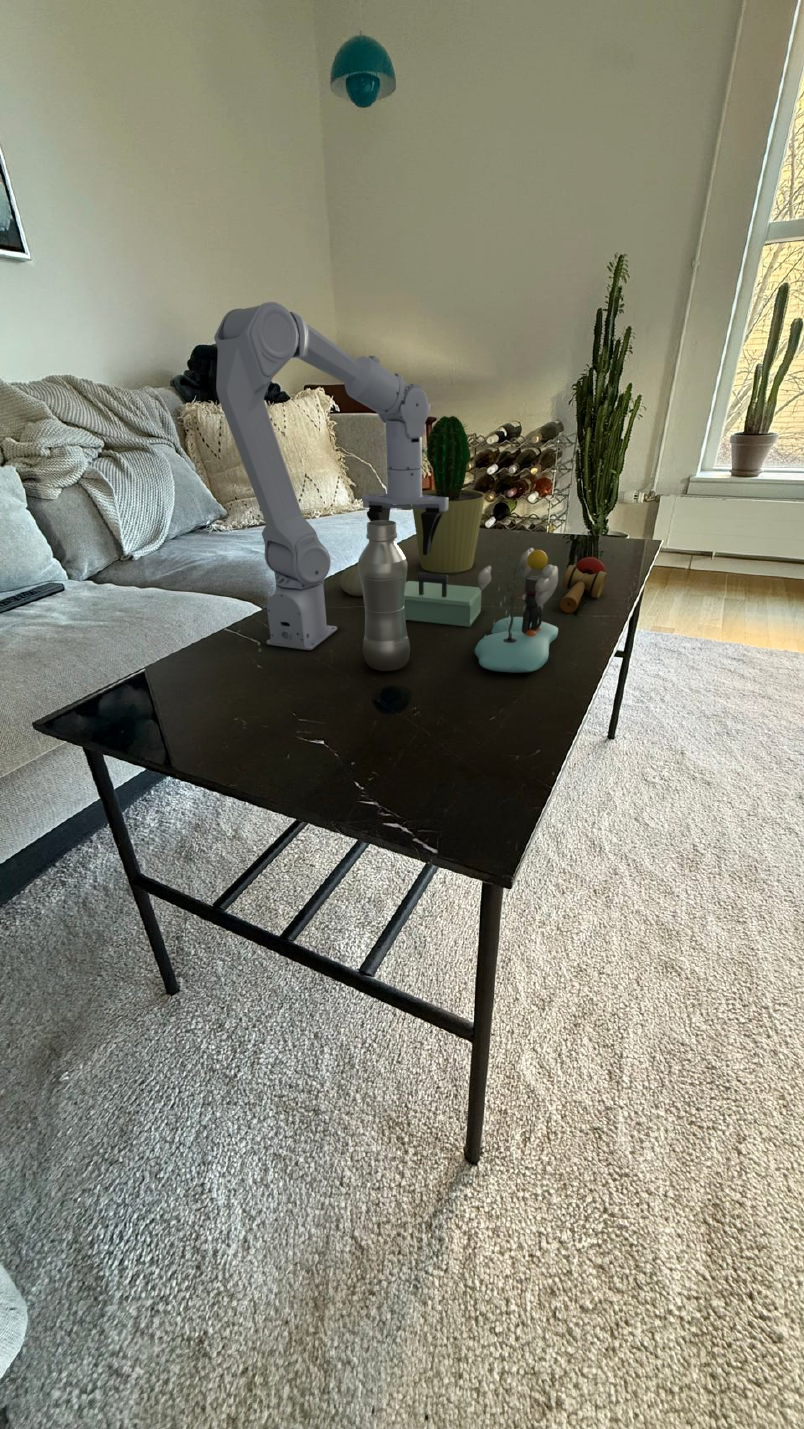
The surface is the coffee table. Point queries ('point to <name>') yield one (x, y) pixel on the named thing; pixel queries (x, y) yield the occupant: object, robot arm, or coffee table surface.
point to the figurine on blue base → (521, 621)
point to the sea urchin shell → (351, 581)
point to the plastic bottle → (384, 598)
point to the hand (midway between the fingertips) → (405, 552)
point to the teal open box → (442, 612)
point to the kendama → (582, 582)
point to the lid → (439, 590)
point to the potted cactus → (450, 500)
